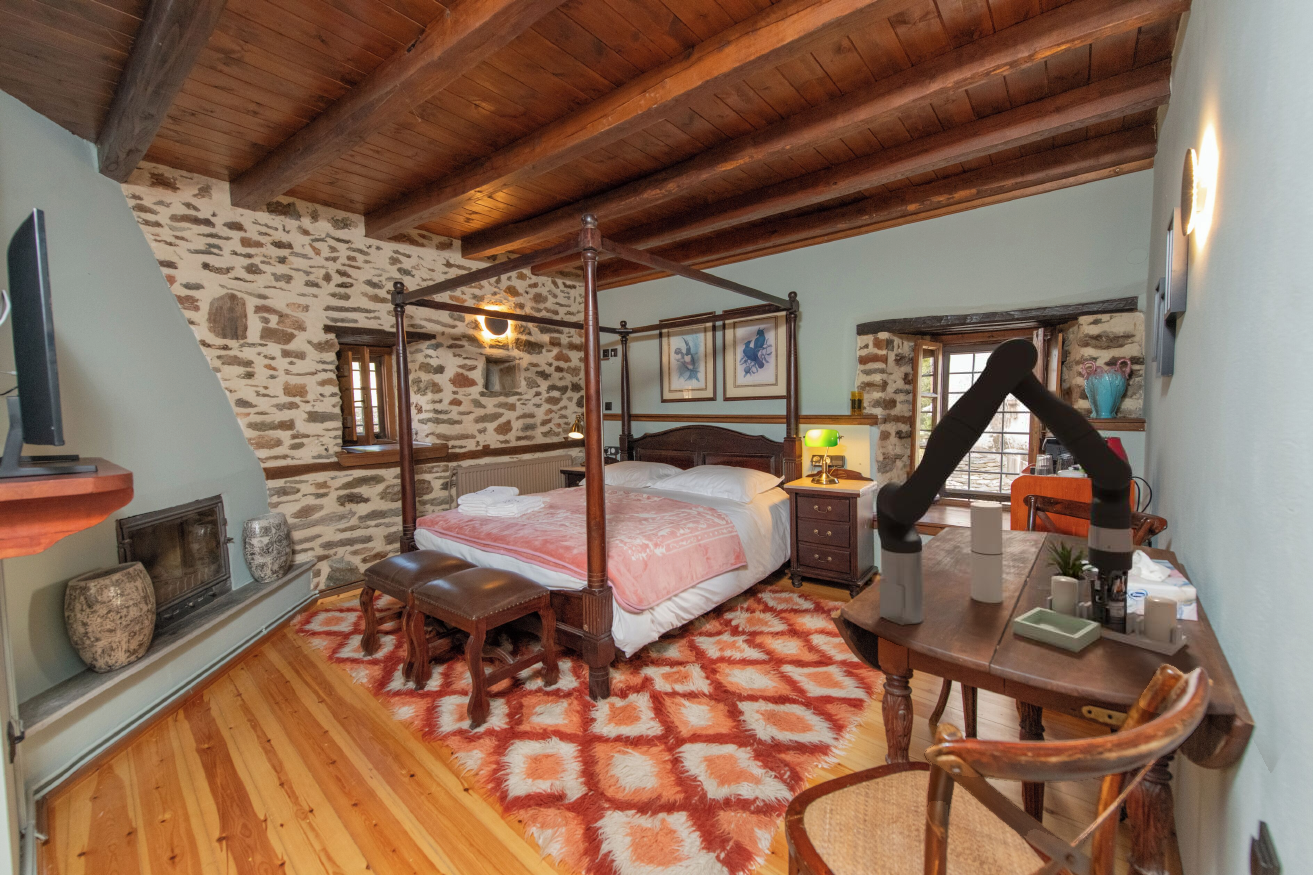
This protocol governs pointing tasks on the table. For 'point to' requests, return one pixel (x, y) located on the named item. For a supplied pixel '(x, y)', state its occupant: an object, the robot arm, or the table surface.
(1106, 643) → the table surface
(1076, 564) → the house plant
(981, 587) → the cylindrical container
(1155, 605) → the block
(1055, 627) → the tray
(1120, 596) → the pill bottle
